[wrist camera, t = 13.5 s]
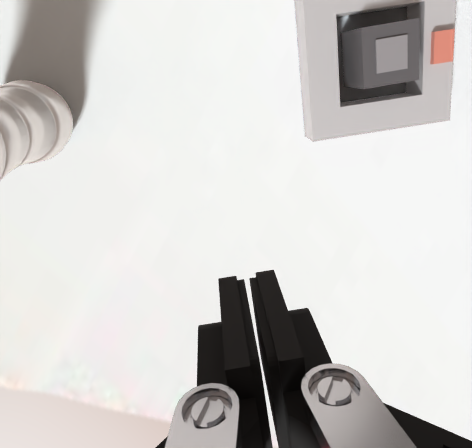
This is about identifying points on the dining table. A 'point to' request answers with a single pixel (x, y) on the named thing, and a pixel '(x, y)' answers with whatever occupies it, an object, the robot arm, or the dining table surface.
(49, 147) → the plastic bottle
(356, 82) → the plug
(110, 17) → the dining table surface
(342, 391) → the robot arm
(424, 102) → the socket plate
